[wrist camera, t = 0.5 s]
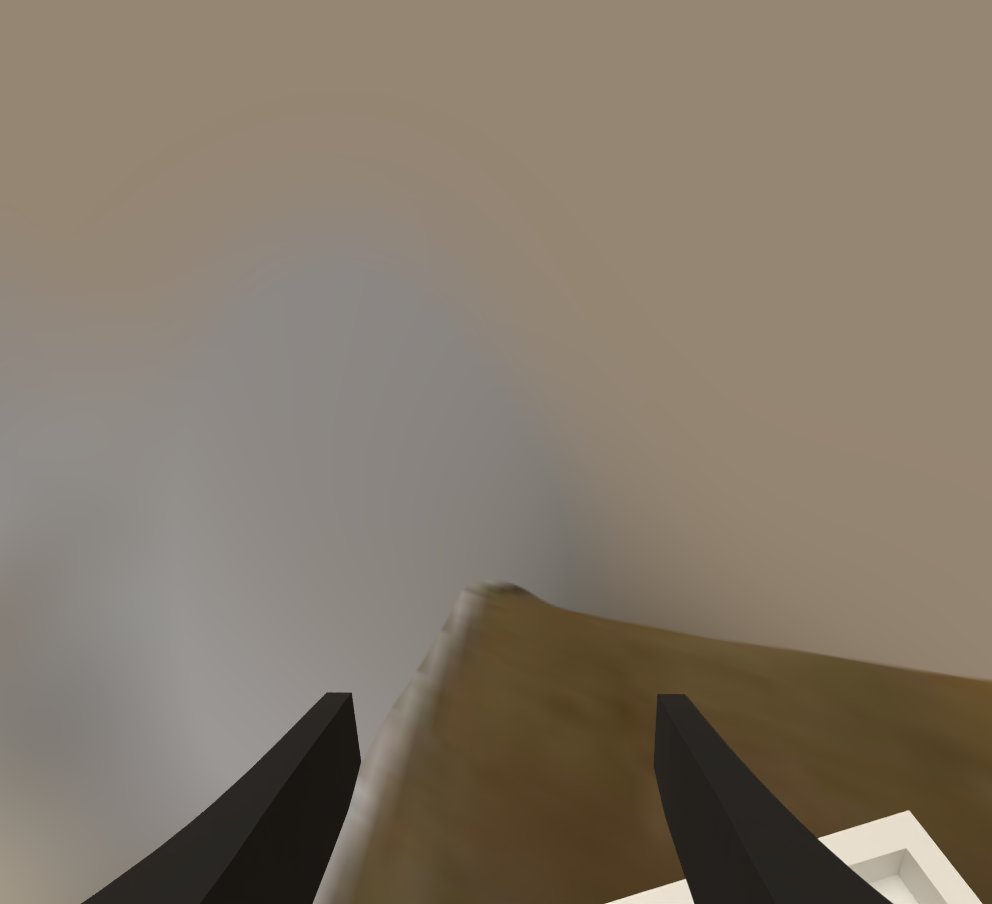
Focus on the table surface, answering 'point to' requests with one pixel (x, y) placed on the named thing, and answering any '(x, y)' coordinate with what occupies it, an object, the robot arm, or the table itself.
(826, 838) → the tub
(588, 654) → the table surface
